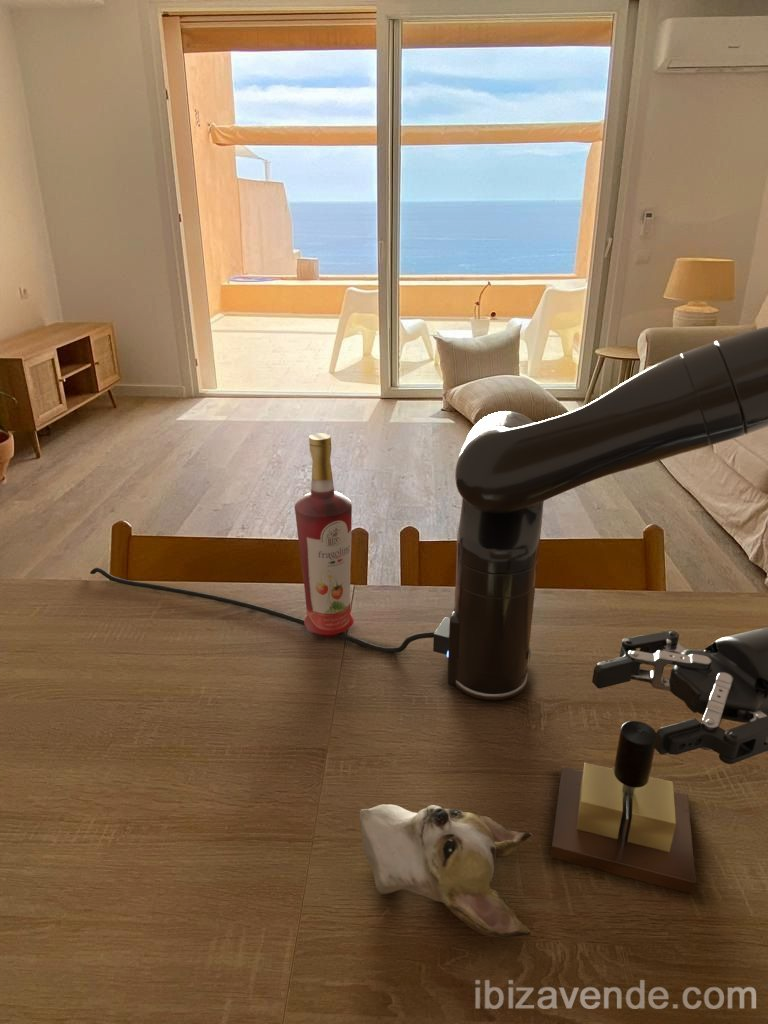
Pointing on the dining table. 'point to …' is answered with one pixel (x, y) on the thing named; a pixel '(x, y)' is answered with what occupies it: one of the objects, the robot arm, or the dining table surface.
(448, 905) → the ceramic sculpture
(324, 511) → the liquor
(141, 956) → the dining table surface
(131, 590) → the dining table surface
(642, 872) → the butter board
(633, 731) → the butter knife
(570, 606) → the dining table surface
